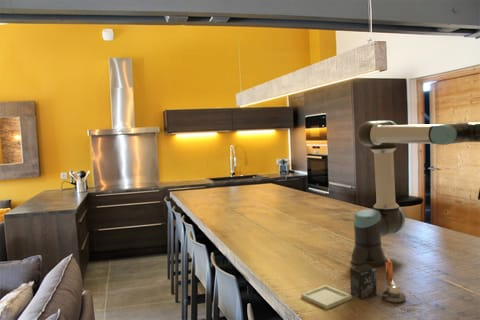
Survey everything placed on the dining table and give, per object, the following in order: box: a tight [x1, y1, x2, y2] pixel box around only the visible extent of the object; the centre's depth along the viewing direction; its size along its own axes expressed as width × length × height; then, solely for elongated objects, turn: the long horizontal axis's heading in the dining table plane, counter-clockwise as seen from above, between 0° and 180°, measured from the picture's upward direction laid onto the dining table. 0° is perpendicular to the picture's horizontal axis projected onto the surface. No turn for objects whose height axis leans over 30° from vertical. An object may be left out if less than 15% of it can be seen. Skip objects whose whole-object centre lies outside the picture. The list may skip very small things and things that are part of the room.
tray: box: [300, 284, 353, 310], centre depth 149 cm, size 13×13×1 cm
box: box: [349, 264, 378, 300], centre depth 150 cm, size 8×6×11 cm
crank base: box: [381, 290, 407, 304], centre depth 146 cm, size 8×8×1 cm
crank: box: [385, 257, 401, 297], centre depth 150 cm, size 13×4×10 cm, turn 169°
